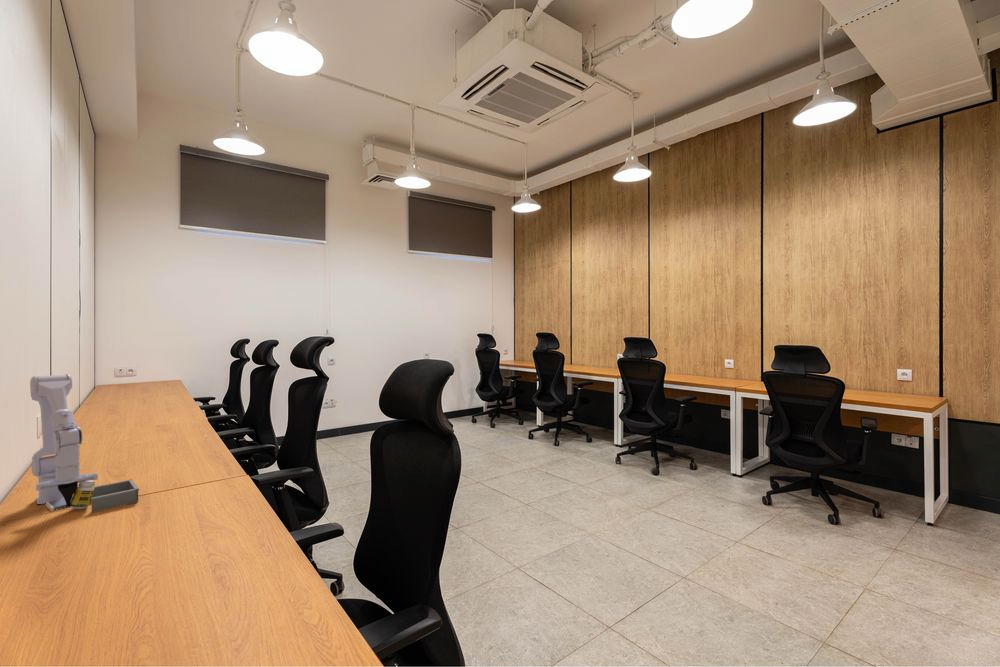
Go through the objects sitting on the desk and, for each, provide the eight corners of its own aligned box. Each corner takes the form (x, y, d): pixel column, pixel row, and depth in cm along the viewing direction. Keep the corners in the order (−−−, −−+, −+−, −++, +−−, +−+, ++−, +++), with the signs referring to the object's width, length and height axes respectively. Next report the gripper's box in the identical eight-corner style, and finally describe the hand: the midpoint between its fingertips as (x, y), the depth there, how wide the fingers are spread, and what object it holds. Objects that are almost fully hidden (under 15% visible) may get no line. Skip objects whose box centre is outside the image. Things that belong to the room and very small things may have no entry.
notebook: (45, 505, 152) (45, 502, 152) (88, 495, 161) (88, 492, 161) (51, 511, 147) (51, 507, 147) (95, 500, 156) (95, 497, 156)
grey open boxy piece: (86, 501, 156) (86, 488, 156) (132, 491, 165) (131, 479, 165) (91, 512, 146) (91, 498, 146) (139, 501, 155) (139, 488, 155)
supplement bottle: (75, 509, 146) (85, 483, 148) (65, 506, 147) (74, 480, 149) (91, 507, 151) (100, 482, 152) (81, 504, 152) (90, 479, 153)
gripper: (36, 473, 139) (36, 516, 139) (98, 462, 149) (98, 503, 150) (35, 468, 144) (36, 510, 144) (96, 458, 154) (96, 497, 154)
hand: (68, 506), depth 147 cm, fingers closed, pressing on supplement bottle
